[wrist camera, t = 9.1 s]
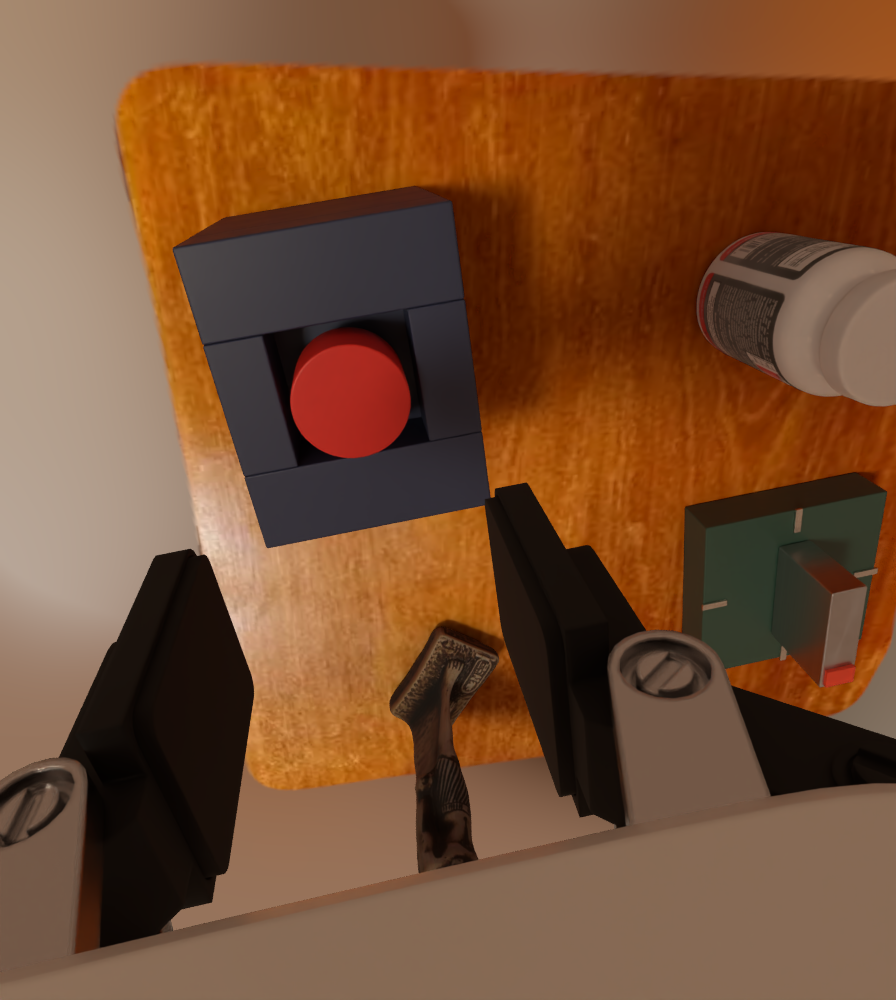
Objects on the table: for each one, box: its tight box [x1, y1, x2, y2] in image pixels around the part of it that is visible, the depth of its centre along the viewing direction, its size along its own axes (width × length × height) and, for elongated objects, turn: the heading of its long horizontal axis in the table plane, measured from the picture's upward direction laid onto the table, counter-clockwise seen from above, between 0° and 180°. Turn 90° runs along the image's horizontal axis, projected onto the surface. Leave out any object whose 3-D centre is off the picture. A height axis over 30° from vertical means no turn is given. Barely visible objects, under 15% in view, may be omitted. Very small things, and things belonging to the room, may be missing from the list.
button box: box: [173, 186, 490, 548], centre depth 26 cm, size 10×8×10 cm
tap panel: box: [682, 473, 887, 669], centre depth 39 cm, size 10×10×3 cm
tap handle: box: [771, 540, 867, 687], centre depth 36 cm, size 6×2×5 cm, turn 9°
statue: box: [390, 627, 499, 873], centre depth 31 cm, size 4×7×20 cm, turn 151°
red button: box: [290, 327, 411, 458], centre depth 22 cm, size 4×4×2 cm
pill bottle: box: [697, 232, 896, 406], centre depth 28 cm, size 6×6×10 cm
